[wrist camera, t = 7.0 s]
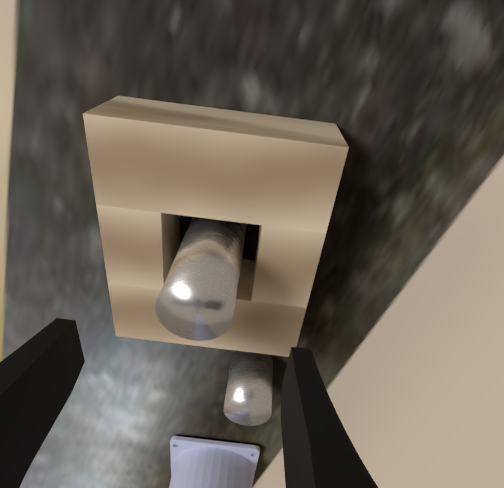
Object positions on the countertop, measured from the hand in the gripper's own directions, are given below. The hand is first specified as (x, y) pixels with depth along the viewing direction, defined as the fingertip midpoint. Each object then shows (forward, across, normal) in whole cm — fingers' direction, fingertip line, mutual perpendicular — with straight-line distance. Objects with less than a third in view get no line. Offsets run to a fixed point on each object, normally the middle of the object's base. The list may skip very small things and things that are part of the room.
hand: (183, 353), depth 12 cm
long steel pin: (+9, 0, 0) cm, 9 cm away
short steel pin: (+9, -3, +11) cm, 14 cm away
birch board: (+9, 0, 0) cm, 9 cm away
